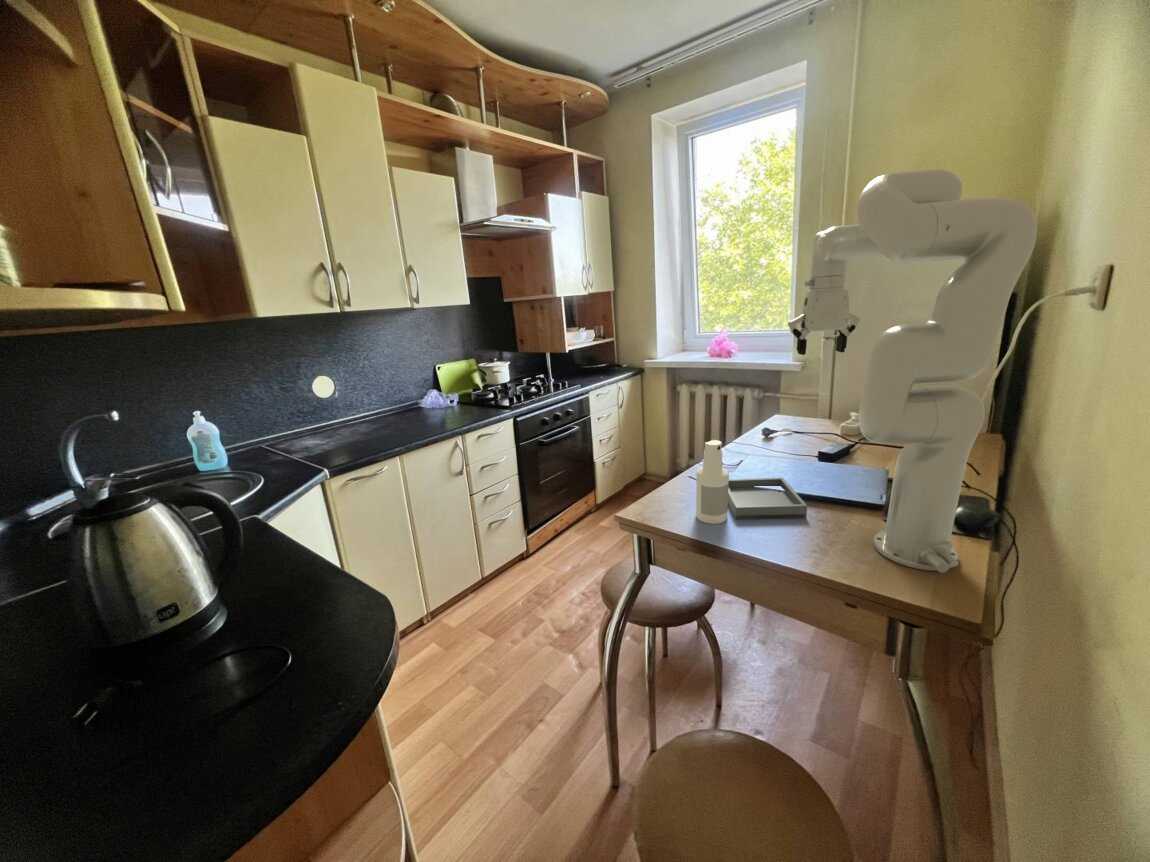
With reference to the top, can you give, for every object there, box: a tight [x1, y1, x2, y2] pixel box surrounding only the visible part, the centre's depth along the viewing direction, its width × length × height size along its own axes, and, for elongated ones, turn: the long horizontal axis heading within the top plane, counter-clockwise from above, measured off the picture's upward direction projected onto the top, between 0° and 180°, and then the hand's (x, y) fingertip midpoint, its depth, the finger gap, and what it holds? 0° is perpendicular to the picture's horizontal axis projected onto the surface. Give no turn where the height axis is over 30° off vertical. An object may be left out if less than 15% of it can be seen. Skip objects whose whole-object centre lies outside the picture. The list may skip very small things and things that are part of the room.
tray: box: [728, 477, 808, 521], centre depth 106 cm, size 15×15×3 cm
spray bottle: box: [695, 439, 730, 525], centre depth 99 cm, size 7×7×18 cm
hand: (820, 352), depth 117 cm, fingers open, 9 cm apart
